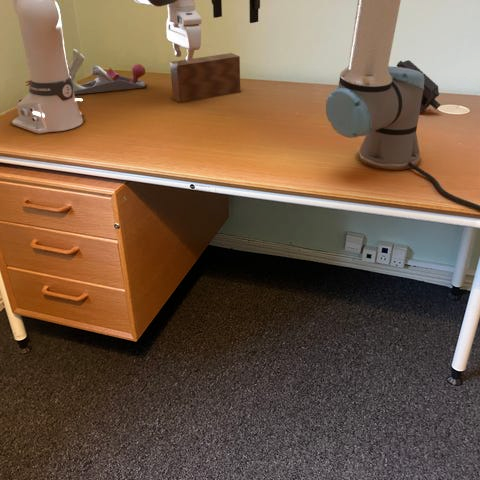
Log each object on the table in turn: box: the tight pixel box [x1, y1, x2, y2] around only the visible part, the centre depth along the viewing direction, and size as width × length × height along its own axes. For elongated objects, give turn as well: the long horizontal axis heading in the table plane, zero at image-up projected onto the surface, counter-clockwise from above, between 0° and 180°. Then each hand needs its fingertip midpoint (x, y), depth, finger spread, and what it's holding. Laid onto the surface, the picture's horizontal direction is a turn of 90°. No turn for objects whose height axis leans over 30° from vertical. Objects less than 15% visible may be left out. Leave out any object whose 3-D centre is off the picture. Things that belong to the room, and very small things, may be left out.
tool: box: [396, 59, 442, 114], centre depth 170 cm, size 6×19×15 cm, turn 51°
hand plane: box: [68, 48, 146, 95], centre depth 194 cm, size 7×31×15 cm, turn 107°
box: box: [169, 52, 241, 103], centre depth 187 cm, size 24×6×12 cm, turn 119°
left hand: (183, 59), depth 180 cm, fingers open, 8 cm apart
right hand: (235, 19), depth 146 cm, fingers open, 13 cm apart
